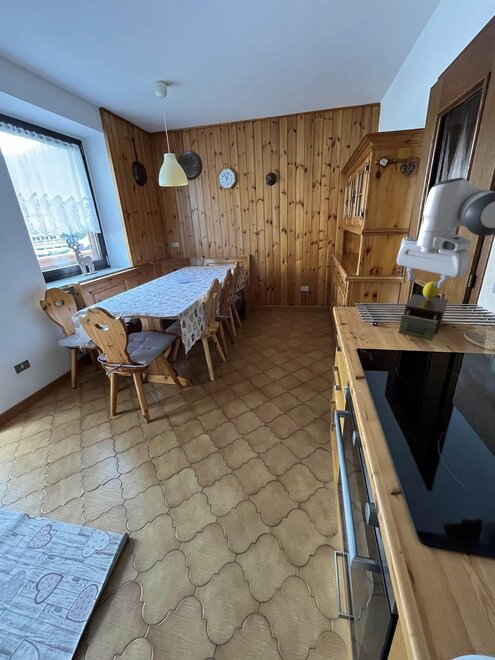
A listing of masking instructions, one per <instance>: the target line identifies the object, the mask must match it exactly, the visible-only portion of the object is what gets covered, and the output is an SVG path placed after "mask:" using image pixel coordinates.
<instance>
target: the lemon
mask: <svg viewBox="0 0 495 660" xmlns="http://www.w3.org/2000/svg"><path fill="white" fill-rule="evenodd" d="M435 282H436V281H434V280H432V281H429V282H427V283H426V284H425V285H424V287H423V289H422V294H423V295H422V296H425V297H426V298H427V299H428V300H430V299H433V298H437V297H438V295H439V293H440V288H435V287H434V285H435Z"/></svg>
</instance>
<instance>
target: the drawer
mask: <svg viewBox="0 0 495 660" xmlns="http://www.w3.org/2000/svg"><path fill="white" fill-rule="evenodd" d="M438 315H439V313H433V312H428V311H422V310H416V309H411V308H409V310H408V311H407V313H406V315H404V313H403V314H401V317H400V318H401V319H400V323H399V328H398V333H397V334H399V335H404V336H409V337H412V338H417V339H421V340H424V341H425V340H426V341H431V342H432V341H433V340H434V336H435V334H434V333H435V329H436V325H437V322H438V321H437V319H438Z"/></svg>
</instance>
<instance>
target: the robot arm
mask: <svg viewBox="0 0 495 660" xmlns="http://www.w3.org/2000/svg"><path fill="white" fill-rule="evenodd" d="M457 227H465V228H466V229H467V231H468V232H470V233H472V234H474V235H476V236H481V237H488V236H494V235H495V191H493V190H489V189H486V188H483V187H479V186H477V185H475V184H473V183H472V182H470V181H468V180H467V179H466V178H465V177H456V178H449V179H444V180H441V181H439V182H437V183H434V185H433V186H432V187H431V188H430V190H429V192H428V195H427V198H426V202H425V206H424V210H423V221H422V224H421V226H420V229H419V232H418V233H419V234H418V237H415V236H413V237H412V236H406V237H404V238H403V239H402V240H401V243H400V248H399V251H398V254H397V257H396V264H397V265H398V266H402V267H406V273H407V275H408V277H407V281H408V282H415V281H416V278H417V275H416V274H415V273H414V271H415V270H420V271H424V272H429V273H434V274H437V275H440V277H439V278H440V280H437V281H434V282H435V285H434V287H435V288H439V289H442V288H443V284H444V283H445V282H446V281H447V280H448V279H449V278H450V277H451V278H456V279H457V278H460V277H462V276H465V275H466V274H467V272H468V268H469V264H470V258H471V254H470V251H469V250H468V249H470V248H471V246H472V241H471V240H469V239H467V238H465V237H463V236H461V235H459V234H457V233H456V230H457Z"/></svg>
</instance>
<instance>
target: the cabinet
mask: <svg viewBox="0 0 495 660" xmlns="http://www.w3.org/2000/svg"><path fill="white" fill-rule="evenodd" d="M448 301H449V299H446V298H442V297H441V298H440V297H435V298H433V299H430V300H428V299H427V298H426V297H425V296H424V295H422V294H415V293H414V294H412V296H411V297H410V299H409V300H408V302H407V303H406V304H405V307H404V310H403V311H404V313H403V314H404V315H406V313H407V311H408V310H409V308H411V309H416V310H422V311H428V312H433V313H439V315H438V319H437V320H438V322H437V325H436V329H435V333H434V335H435V336H436V335H438V332H439V330H440V327H441V324H442V322H443V319H444V316H445V313H446V309H447V305H448Z"/></svg>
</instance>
